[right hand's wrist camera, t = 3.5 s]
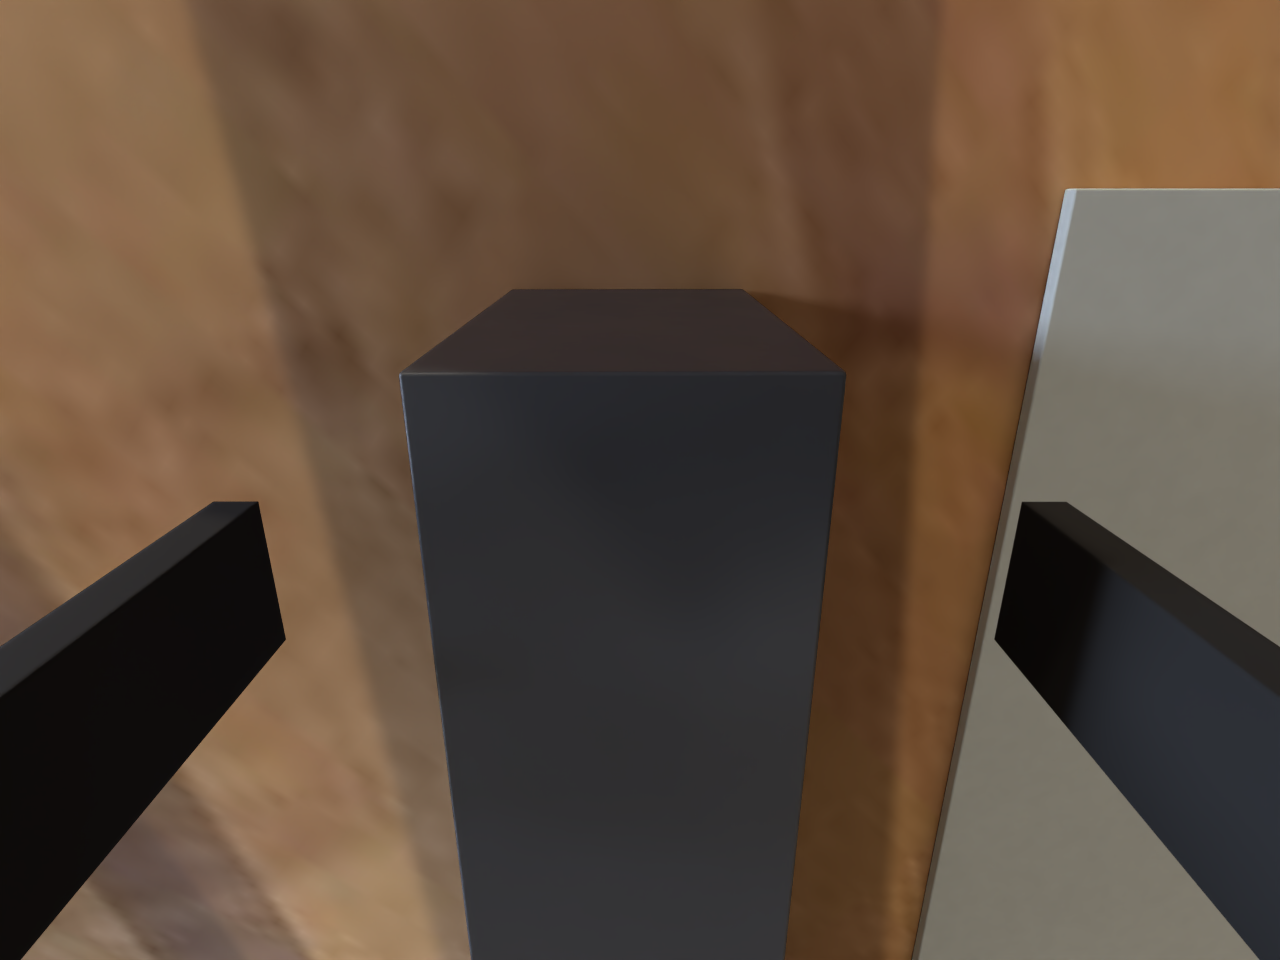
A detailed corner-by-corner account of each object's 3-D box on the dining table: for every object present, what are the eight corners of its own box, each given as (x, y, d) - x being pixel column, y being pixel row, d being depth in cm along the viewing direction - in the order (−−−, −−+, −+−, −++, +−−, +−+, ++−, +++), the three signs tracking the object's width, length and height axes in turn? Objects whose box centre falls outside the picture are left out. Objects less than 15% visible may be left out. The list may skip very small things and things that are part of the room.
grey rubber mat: (865, 1190, 28) (868, 1204, 27) (1064, 188, 15) (1075, 188, 14) (1325, 1185, 28) (1334, 1198, 28) (1924, 189, 15) (1958, 188, 15)
